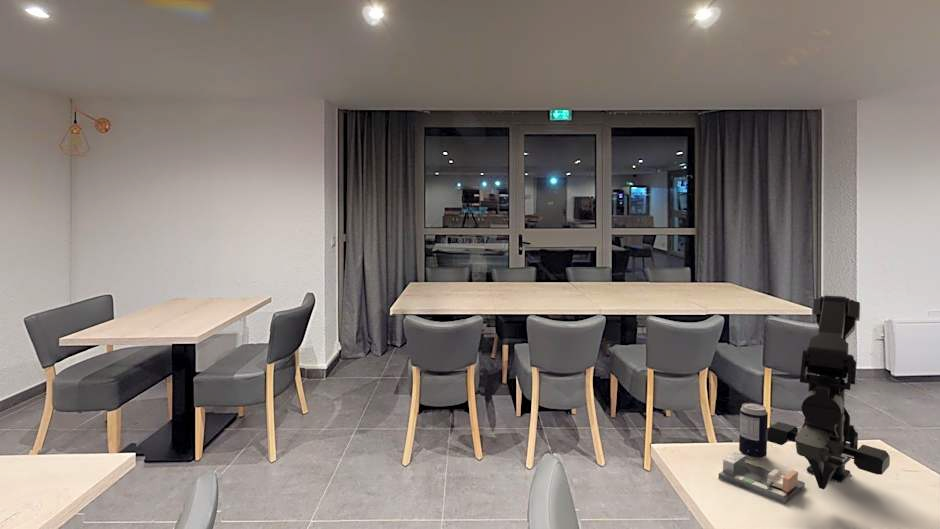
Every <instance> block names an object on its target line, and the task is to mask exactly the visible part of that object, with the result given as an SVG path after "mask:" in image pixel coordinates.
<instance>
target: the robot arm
mask: <svg viewBox="0 0 940 529" xmlns="http://www.w3.org/2000/svg"><path fill="white" fill-rule="evenodd" d="M860 315H861V303H860V302H859V301H855V300H854V299H850V298H849V297H847V296H845V295H843V296H841V295H823V296H820V297H819V298H814V299H813V306H812V316H813V318H816V323H817V326H818V330H817V335H816V336H813V337H811V338H810V339H809V340H808V343H807V348H806V349H805V348H803V349H802V356H801V365H800V375H799V383H802V384H803V383H804V384H807V393H806V394H805V397H804V399H803V401H802V404H801V412H802V414H803V417H804V422H803V424H802V427H801V428H800V429H798V427H797V425H796V426H795V425H793V424H792V425H791V424H788V423H785V422H781V421H777V422H775V423H773V424H772V425H770V426H769V427H767V430H766V440H767V442H769V443H773V444H775V445H778V446H783V445H784V444H787V443H788V441H790V442H793V443H795V448H796V449H795V450H796V454H798V456H801V457H804V458H805V459H806V460H807V462H808V464H809V466H807V467H806V471H807V472H809V473H811V474H813V476H814V478H815V480H816V483H817V486H818V489H821V490H823V491H824V490H826V489H827V486H828V484H829V482H830V481H831V480H832V481H835V482H838V483H839V482H840V483H842V482H844V481H845V480H846V479H847V478H848V477H849V475H850V474H851V470H849V469H846V464H847V463H848V462H849V461H850V460H853V464H854V465H855V466H856V467H857V469H858V470H862V471H865V472H867V473H871V474H875V475H879V476H880V475H883V474H884V473H885V472H886V471H887V469H888V468H890V464H891V463H890V462H891V460H890V459H891V457H890V454H889V453H888V452H887V451H886V450H884V449H880V448H876V447H874V446H870V445H866V444H861V446H859V447H858V445H859V444H858V442H859V433H858V432H857V430H856V429H855V425H853V424H851V416H850V414H849V411H847V409H846V407H845V395H846V393H845V391H846V390H847V391H851V388H852V385H856V376H857V375H856V374H857V360H855V356H854V355H853V354H849V343H848V342H847V339H848V338H849V337H850V336H851V335H852V333H853V332H854V331H855V330H856V321H858V322H859V321H860V317H861V316H860ZM806 372H807V373H806ZM845 379H847V380H845ZM845 381H846V382H845Z"/></svg>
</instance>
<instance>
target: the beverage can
mask: <svg viewBox="0 0 940 529" xmlns="http://www.w3.org/2000/svg"><path fill="white" fill-rule="evenodd" d="M768 415H769V413H768V411H767V407H766V406H764V405H762V404H758V403H755V402H754V403H753V402H744V403H742V404H741V408H740V409H739V432H738V433H739V435H738V436H739V440H738V441H739V442H738V445H739V446H738V451H739V452H741V453H740V454H743V455H746V458H747V457H749V458H748V459H750V458H752V459H751V460H757V459H758V460H763V458H765V457H766V456H767V455H768V454H767V452H768V451H767V449H768V441H767V440H766V430H767V428H768V419H769V418H768V417H769V416H768Z"/></svg>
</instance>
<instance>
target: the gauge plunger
mask: <svg viewBox="0 0 940 529" xmlns="http://www.w3.org/2000/svg"><path fill="white" fill-rule="evenodd" d="M770 471H771V472H770V473H769V474H768V479H767V484H768V485H767V487H770V486H771V485H772V486H775V487H778V488H780V489H782V490H783V491H785V492H789V491H790V490H792V489H793V488H794V487H795V486H796V485H797V484H798V481H799V479H798V478H799V477H798V476H799V472H798V471H797V470H794V469H792V470H791V471H789V472H788V473H786V474H785V475H784V474H781V470H780V469H777V468H774V469H773V470H770ZM780 474H781V475H780ZM783 475H784V476H783Z"/></svg>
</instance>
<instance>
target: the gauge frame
mask: <svg viewBox="0 0 940 529" xmlns="http://www.w3.org/2000/svg"><path fill="white" fill-rule="evenodd" d="M722 461H723V462H722V470H721V471H720V472H719V473H718V479H720V480H721V481H722V480H723V481H725V482H727V483H730V484H733V485H735V486H738V487H740V488H743V489H746V490H748V491H750V492H753V493H756V494H759V495H762V496H763V497H766V498H769V499H771V500H774V501H776V502H779V503H781V504H784V505H786V504H788V503H789V502H790V501H791V500H792V499H794V497H796V496H797V495H798V494H799V493H800V492H801V491H802V490H803V489H805V485H806V483H805V482H804V481H801V480H798V484H797V485H796V486H795V487H794V488H793V489H792V490H790V491H789V492H785V491H783V490H782V489H780V488H778V487H775V486H772V485H771V486H770V487H767V485H768V484H767V479H768V474H769V473H770V472H771V471H772V470H770V469H766V468H763V467H760V466H757V465H755V464H753V463H750V462H747V457H746V455H743V454H742V453H739V452H737V451H735V452H734V453H732V454H730V455H728V456H726V457H725V458H724V459H722ZM780 475H783V476H785V475H784V474H781V473H780Z"/></svg>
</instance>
